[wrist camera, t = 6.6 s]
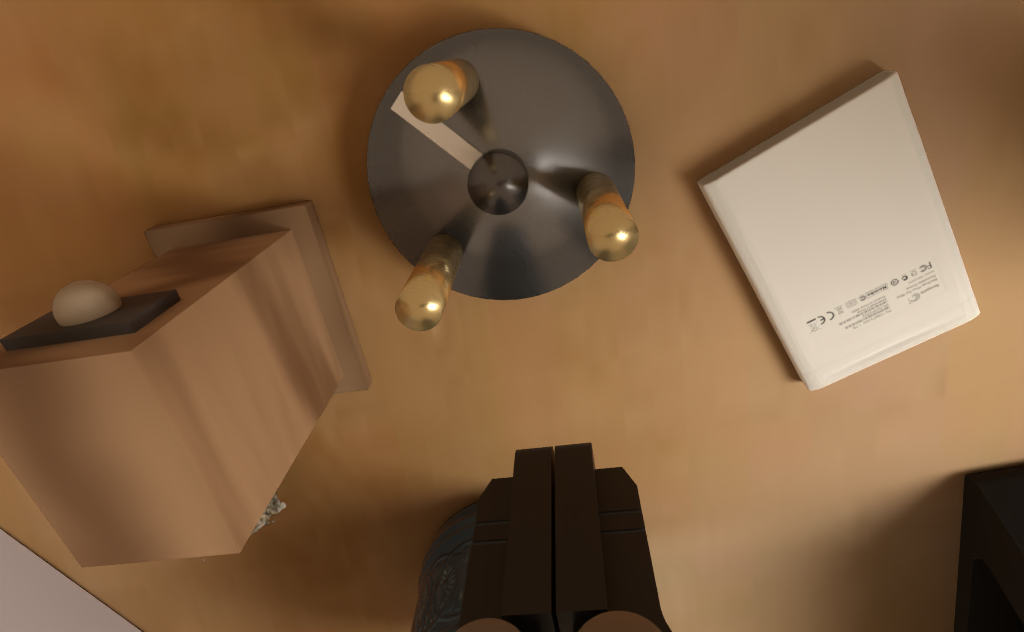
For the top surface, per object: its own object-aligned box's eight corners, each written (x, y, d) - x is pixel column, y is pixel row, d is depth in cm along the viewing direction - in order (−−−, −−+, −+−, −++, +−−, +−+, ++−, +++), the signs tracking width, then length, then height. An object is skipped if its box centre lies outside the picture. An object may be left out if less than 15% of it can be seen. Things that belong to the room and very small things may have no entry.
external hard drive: (878, 68, 23) (962, 301, 27) (693, 179, 25) (797, 377, 29) (901, 70, 21) (986, 316, 25) (702, 187, 24) (811, 395, 28)
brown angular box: (307, 189, 25) (138, 297, 15) (371, 381, 30) (277, 571, 19) (149, 216, 26) (-120, 336, 16) (234, 398, 31) (71, 588, 20)
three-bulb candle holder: (683, 147, 23) (742, 189, 17) (524, 327, 28) (519, 420, 21) (472, -38, 21) (439, -76, 14) (331, 192, 25) (254, 248, 18)
